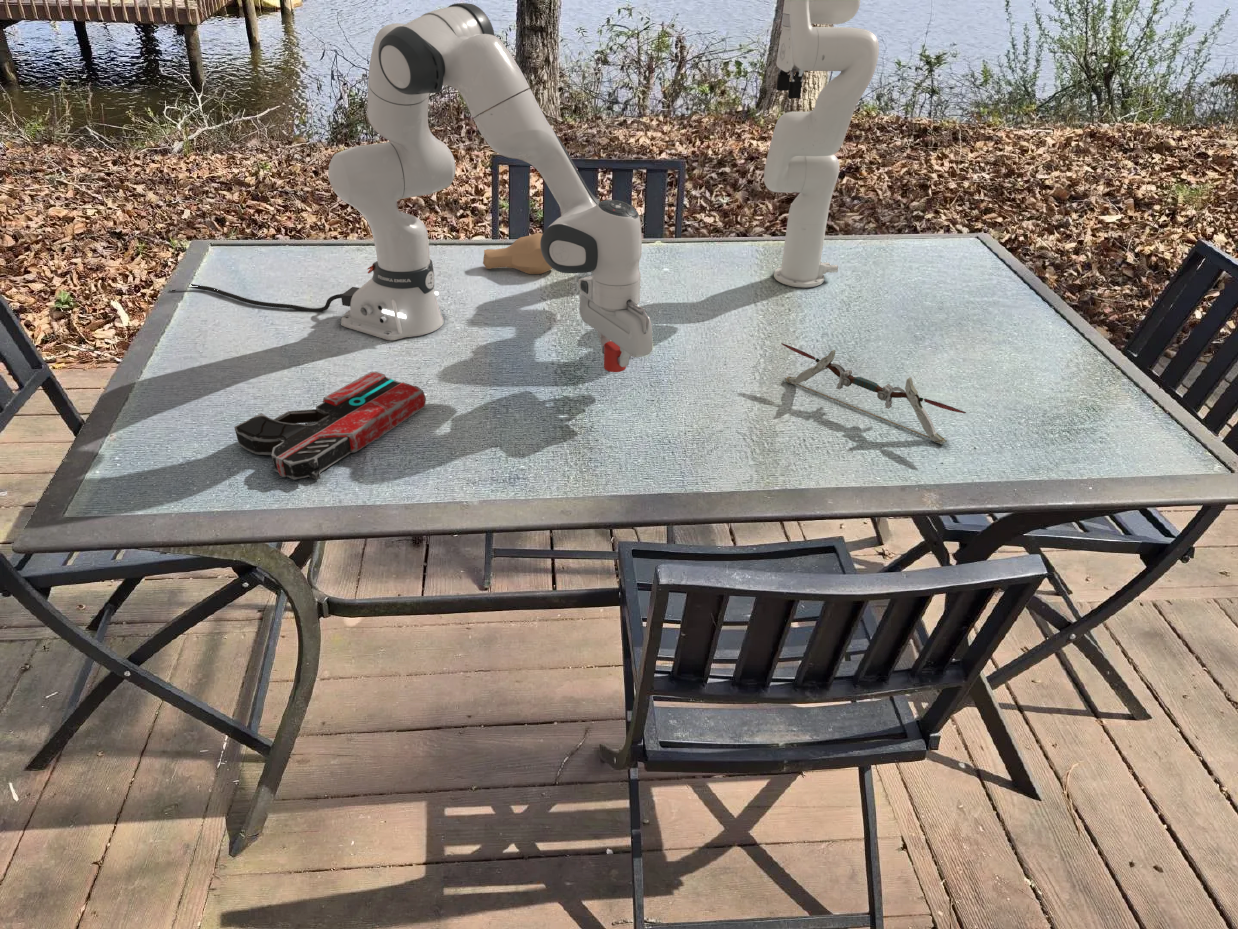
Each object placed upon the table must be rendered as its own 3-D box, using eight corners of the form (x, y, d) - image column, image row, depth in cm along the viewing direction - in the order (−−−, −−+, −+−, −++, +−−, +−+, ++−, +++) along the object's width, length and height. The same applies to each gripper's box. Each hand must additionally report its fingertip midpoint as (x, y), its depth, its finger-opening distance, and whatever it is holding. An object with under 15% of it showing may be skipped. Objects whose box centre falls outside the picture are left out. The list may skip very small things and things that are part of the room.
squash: (562, 278, 220) (556, 246, 214) (484, 285, 222) (476, 253, 216) (564, 255, 228) (559, 224, 222) (489, 262, 230) (481, 231, 223)
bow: (958, 447, 158) (972, 398, 152) (954, 450, 157) (967, 402, 151) (779, 375, 179) (785, 330, 174) (774, 378, 178) (780, 333, 172)
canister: (627, 363, 171) (628, 341, 169) (623, 373, 168) (624, 351, 165) (606, 361, 172) (606, 339, 169) (601, 371, 168) (602, 349, 166)
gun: (219, 431, 148) (300, 468, 140) (353, 358, 170) (430, 387, 162) (225, 453, 150) (305, 490, 143) (356, 378, 172) (432, 408, 164)
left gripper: (662, 308, 155) (659, 377, 163) (601, 270, 170) (600, 336, 177) (633, 315, 153) (630, 385, 160) (573, 277, 167) (574, 343, 174)
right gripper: (772, 16, 228) (764, 87, 237) (793, 26, 213) (784, 101, 223) (800, 17, 229) (791, 87, 238) (822, 26, 214) (812, 100, 224)
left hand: (614, 359), depth 169 cm, fingers closed on canister, 4 cm apart
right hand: (788, 93), depth 230 cm, fingers open, 9 cm apart
